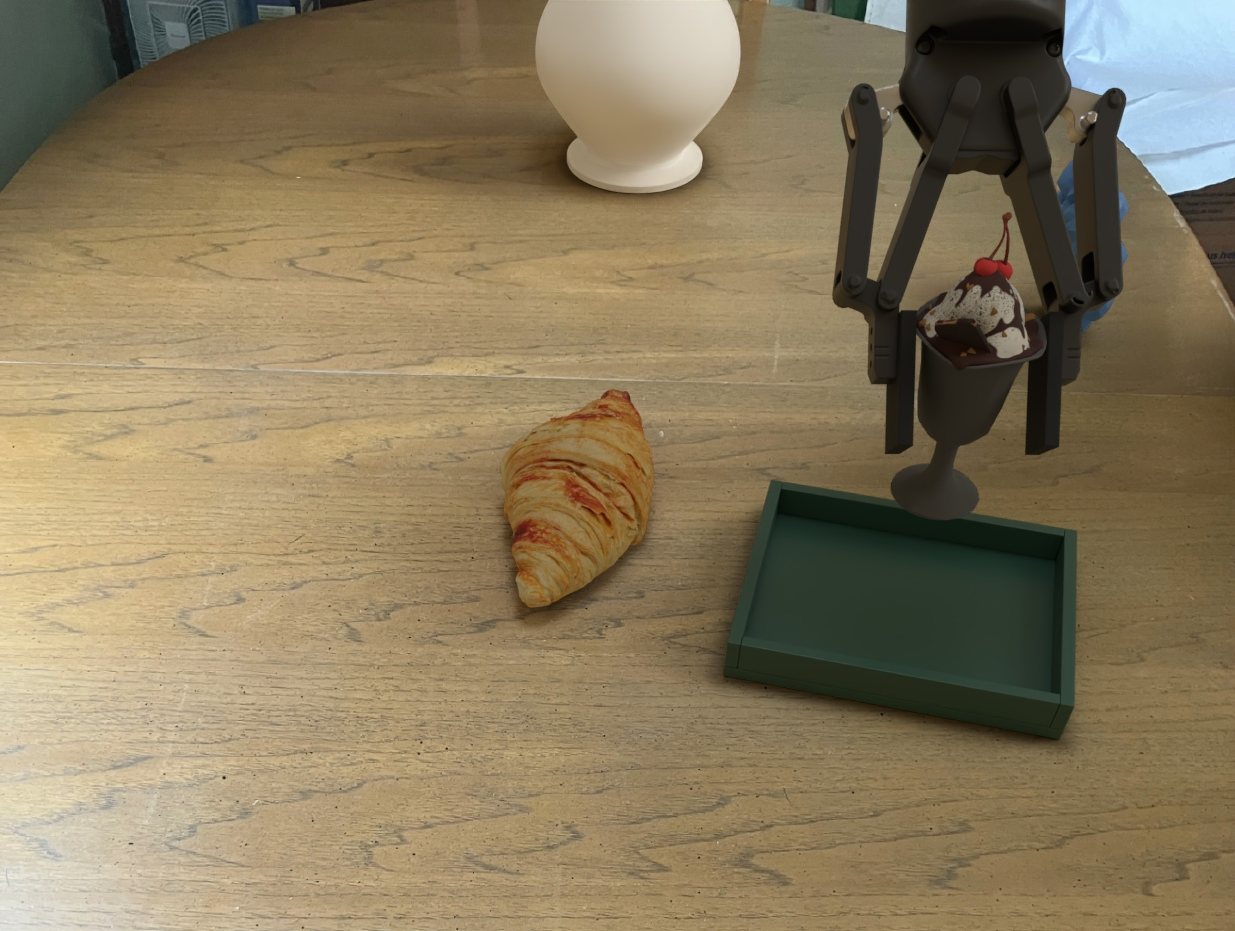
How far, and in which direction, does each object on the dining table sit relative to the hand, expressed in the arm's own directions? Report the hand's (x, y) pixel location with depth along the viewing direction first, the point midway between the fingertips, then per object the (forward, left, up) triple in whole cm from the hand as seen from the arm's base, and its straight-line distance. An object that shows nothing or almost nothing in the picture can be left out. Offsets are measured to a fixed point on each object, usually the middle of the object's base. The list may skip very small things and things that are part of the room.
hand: (970, 449), depth 63 cm
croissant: (+23, -7, -15) cm, 28 cm away
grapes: (-7, -41, -15) cm, 45 cm away
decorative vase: (+31, -58, -15) cm, 68 cm away
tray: (+1, -3, -15) cm, 15 cm away
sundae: (+1, -3, -6) cm, 7 cm away
